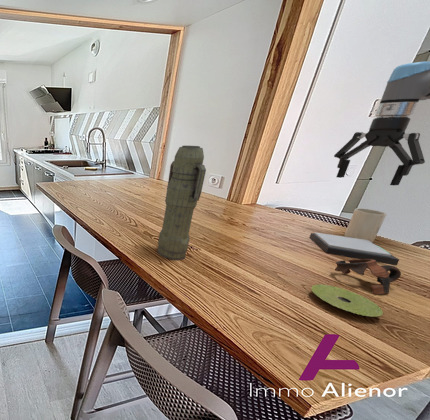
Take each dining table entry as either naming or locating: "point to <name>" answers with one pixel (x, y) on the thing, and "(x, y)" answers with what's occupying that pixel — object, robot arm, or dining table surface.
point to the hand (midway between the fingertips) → (365, 181)
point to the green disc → (347, 300)
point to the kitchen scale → (352, 248)
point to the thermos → (181, 201)
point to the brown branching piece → (375, 269)
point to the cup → (365, 224)
